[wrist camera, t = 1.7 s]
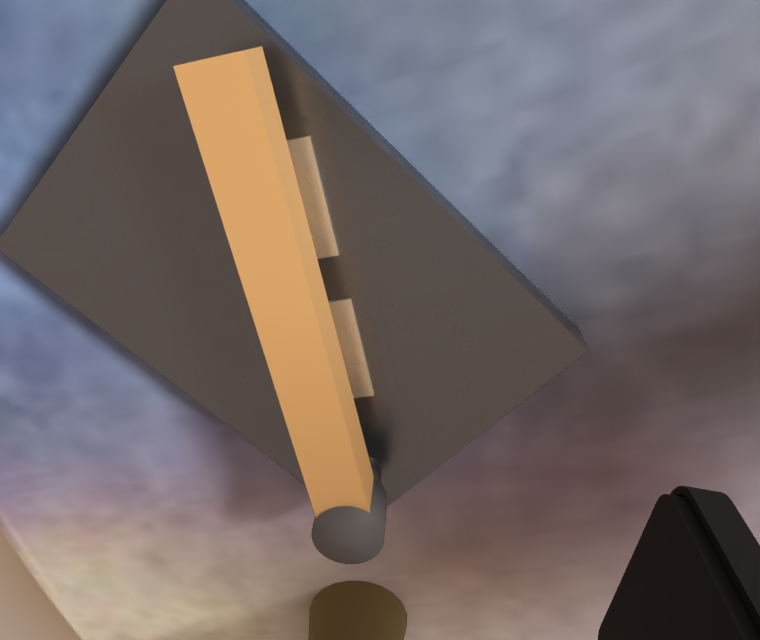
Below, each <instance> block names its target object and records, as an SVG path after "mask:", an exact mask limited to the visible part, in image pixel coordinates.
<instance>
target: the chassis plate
mask: <svg viewBox="0 0 760 640" xmlns="http://www.w3.org/2000/svg"><path fill="white" fill-rule="evenodd" d="M260 46H262V48H263V52H264V56H265V59H266V63H267V67H268V71H269V75H270V79H271V83H272V86H273V90H274V94H275V98H276V102H277V106H278V109H279V113H280V117H281V121H282V125H283V129H284V133H285V136H286V140H287V144H288V148H289V152H290V156H291V160H292V163H293V167H294V171H295V175H296V179H297V183H298V187H299V190H300V194H301V198H302V202H303V206H304V210H305V214H306V217H307V221H308V225H309V229H310V233H311V237H312V241H313V244H314V248H315V252H316V256H317V260H318V264H319V268H320V271H321V275H322V279H323V283H324V287H325V291H326V294H327V298H328V302H329V306H330V310H331V314H332V318H333V321H334V325H335V329H336V333H337V337H338V341H339V345H340V348H341V352H342V356H343V360H344V364H345V368H346V372H347V375H348V379H349V383H350V387H351V391H352V395H353V399H354V402H355V406H356V410H357V414H358V418H359V422H360V426H361V429H362V433H363V437H364V441H365V445H366V449H367V453H368V456H369V460H370V464H371V468H372V472H373V476H374V477H375V478H376V479H377V480H379V481H380V483H381V484H382V485H383V486H384V488H385V490H386V493H387V506H388V505H389V504H390V503H392V502H393V501H394V500H396V499H397V498H398V497H400V496H401V495H402V494H403V493H405V492H406V491H407V490H409V489H410V488H411V487H413V486H414V485H415V484H416V483H418V482H419V481H420V480H422V479H423V478H424V477H426V476H427V475H428V474H429V473H431V472H432V471H433V470H435V469H436V468H437V467H438V466H440V465H441V464H442V463H444V462H445V461H446V460H448V459H449V458H450V457H451V456H453V455H454V454H455V453H457V452H458V451H459V450H461V449H462V448H463V447H464V446H466V445H467V444H468V443H470V442H471V441H472V440H474V439H475V438H476V437H477V436H479V435H480V434H481V433H483V432H484V431H485V430H486V429H488V428H489V427H490V426H492V425H493V424H494V423H496V422H497V421H498V420H499V419H501V418H502V417H503V416H505V415H506V414H507V413H509V412H510V411H511V410H512V409H514V408H515V407H516V406H518V405H519V404H520V403H521V402H523V401H524V400H525V399H527V398H528V397H529V396H531V395H532V394H533V393H534V392H536V391H537V390H538V389H540V388H541V387H542V386H544V385H545V384H546V383H547V382H549V381H550V380H551V379H553V378H554V377H555V376H557V375H558V374H559V373H560V372H562V371H563V370H564V369H566V368H567V367H568V366H569V365H571V364H572V363H573V362H575V361H576V360H577V359H579V358H580V357H581V356H582V355H584V354H585V353H586V352H588V351H589V350H588V347H587V345H586V343H585V341H584V339H583V337H582V335H581V332H580V330H579V329H578V328H577V327H576V326H575V325H574V324H573V323H572V322H571V321H570V320H568V319H567V318H566V317H565V316H564V315H563V314H562V313H561V312H560V311H559V310H558V309H557V308H556V307H555V306H554V305H553V304H552V303H551V302H550V301H549V300H548V299H547V298H546V297H545V296H544V295H543V294H542V293H541V292H540V291H539V290H538V289H537V288H536V287H535V286H534V285H533V284H532V283H531V282H530V281H529V280H528V279H527V278H526V277H525V276H524V275H523V274H522V273H521V272H520V271H519V270H518V269H517V268H516V267H515V266H514V265H513V264H512V263H511V262H510V261H509V260H508V259H507V258H506V257H504V256H503V255H502V254H501V253H500V252H499V251H498V250H497V249H496V248H495V247H494V246H493V245H492V244H491V243H490V242H489V241H488V240H487V239H486V238H485V237H484V236H483V235H482V234H481V233H480V232H479V231H478V230H477V229H476V228H475V227H474V226H473V225H472V224H471V223H470V222H469V221H468V220H467V219H466V218H465V217H464V216H463V215H462V214H461V213H460V212H459V211H458V210H457V209H456V208H455V207H454V206H453V205H452V204H451V203H450V202H449V201H448V200H447V199H446V198H445V197H444V196H443V195H441V194H440V193H439V192H438V191H437V190H436V189H435V188H434V187H433V186H432V185H431V184H430V183H429V182H428V181H427V180H426V179H425V178H424V177H423V176H422V175H421V174H420V173H419V172H418V171H417V170H416V169H415V168H414V167H413V166H412V165H411V164H410V163H409V162H408V161H407V160H406V159H405V158H404V157H403V156H402V155H401V154H400V153H399V152H398V151H397V150H396V149H395V148H394V147H393V146H392V145H391V144H390V143H389V142H388V141H387V140H386V139H385V138H384V137H383V136H382V135H381V134H380V133H379V132H377V131H376V130H375V129H374V128H373V127H372V126H371V125H370V124H369V123H368V122H367V121H366V120H365V119H364V118H363V117H362V116H361V115H360V114H359V113H358V112H357V111H356V110H355V109H354V108H353V107H352V106H351V105H350V104H349V103H348V102H347V101H346V100H345V99H344V98H343V97H342V96H341V95H340V94H339V93H338V92H337V91H336V90H335V89H334V88H333V87H332V86H331V85H330V84H329V83H328V82H327V81H326V80H325V79H324V78H323V77H322V76H321V75H320V74H319V73H318V72H317V71H316V70H315V69H313V68H312V67H311V66H310V65H309V64H308V63H307V62H306V61H305V60H304V59H303V58H302V57H301V56H300V55H299V54H298V53H297V52H296V51H295V50H294V49H293V48H292V47H291V46H290V45H289V44H288V43H287V42H286V41H285V40H284V39H283V38H282V37H281V36H280V35H279V34H278V33H277V32H276V31H275V30H274V29H273V28H272V27H271V26H270V25H269V24H268V23H267V22H266V21H265V20H264V19H263V18H262V17H261V16H260V15H259V14H258V13H257V12H256V11H255V10H254V9H253V8H252V7H251V6H249V5H248V4H247V3H246V2H245V1H244V0H166V1H165V3H164V4H163V5H162V7H161V8H160V10H159V11H158V13H157V14H156V15H155V17H154V18H153V20H152V21H151V23H150V24H149V25H148V27H147V28H146V30H145V31H144V33H143V34H142V35H141V37H140V38H139V40H138V41H137V43H136V44H135V45H134V47H133V48H132V50H131V51H130V53H129V54H128V56H127V57H126V58H125V60H124V61H123V63H122V64H121V66H120V67H119V68H118V70H117V71H116V73H115V74H114V76H113V77H112V78H111V80H110V81H109V83H108V84H107V86H106V87H105V88H104V90H103V91H102V93H101V94H100V96H99V97H98V98H97V100H96V101H95V103H94V104H93V106H92V107H91V108H90V110H89V111H88V113H87V114H86V116H85V117H84V118H83V120H82V121H81V123H80V124H79V126H78V127H77V128H76V130H75V131H74V133H73V134H72V136H71V137H70V138H69V140H68V141H67V143H66V144H65V146H64V147H63V148H62V150H61V151H60V153H59V154H58V156H57V157H56V158H55V160H54V161H53V163H52V164H51V166H50V167H49V169H48V170H47V171H46V173H45V174H44V176H43V177H42V179H41V180H40V181H39V183H38V184H37V186H36V187H35V189H34V190H33V191H32V193H31V194H30V196H29V197H28V199H27V200H26V201H25V203H24V204H23V206H22V207H21V209H20V210H19V211H18V213H17V214H16V216H15V217H14V219H13V220H12V221H11V223H10V224H9V226H8V227H7V229H6V230H5V231H4V233H3V234H2V236H1V237H0V252H2V253H3V254H4V255H6V256H7V257H8V258H9V259H11V260H12V261H13V262H15V263H16V264H17V265H19V266H20V267H21V268H23V269H24V270H25V271H27V272H28V273H29V274H30V275H32V276H33V277H34V278H36V279H37V280H38V281H40V282H41V283H42V284H44V285H45V286H46V287H47V288H49V289H50V290H51V291H53V292H54V293H55V294H57V295H58V296H59V297H61V298H62V299H63V300H64V301H66V302H67V303H68V304H70V305H71V306H72V307H74V308H75V309H76V310H78V311H79V312H80V313H81V314H83V315H84V316H85V317H87V318H88V319H89V320H91V321H92V322H93V323H95V324H96V325H97V326H98V327H100V328H101V329H102V330H104V331H105V332H106V333H108V334H109V335H110V336H112V337H113V338H114V339H116V340H117V341H118V342H119V343H121V344H122V345H123V346H125V347H126V348H127V349H129V350H130V351H131V352H133V353H134V354H135V355H136V356H138V357H139V358H140V359H142V360H143V361H144V362H146V363H147V364H148V365H150V366H151V367H152V368H153V369H155V370H156V371H157V372H159V373H160V374H161V375H163V376H164V377H165V378H167V379H168V380H169V381H170V382H172V383H173V384H174V385H176V386H177V387H178V388H180V389H181V390H182V391H184V392H185V393H186V394H187V395H189V396H190V397H191V398H193V399H194V400H195V401H197V402H198V403H199V404H201V405H202V406H203V407H204V408H206V409H207V410H208V411H210V412H211V413H212V414H214V415H215V416H216V417H218V418H219V419H220V420H222V421H223V422H224V423H225V424H227V425H228V426H229V427H231V428H232V429H233V430H235V431H236V432H237V433H239V434H240V435H241V436H242V437H244V438H245V439H246V440H248V441H249V442H250V443H252V444H253V445H254V446H256V447H257V448H258V449H259V450H261V451H262V452H263V453H265V454H266V455H267V456H269V457H270V458H271V459H273V460H274V461H275V462H276V463H278V464H279V465H280V466H282V467H283V468H284V469H286V470H287V471H288V472H290V473H291V474H292V475H293V476H295V477H296V478H297V479H299V480H300V481H301V482H303V483H304V484H305V481H304V478H303V475H302V472H301V469H300V465H299V462H298V459H297V456H296V453H295V450H294V447H293V443H292V440H291V437H290V434H289V431H288V428H287V424H286V421H285V418H284V415H283V412H282V409H281V405H280V402H279V399H278V396H277V393H276V390H275V387H274V383H273V380H272V377H271V374H270V371H269V368H268V364H267V361H266V358H265V355H264V352H263V349H262V345H261V342H260V339H259V336H258V333H257V330H256V327H255V323H254V320H253V317H252V314H251V311H250V308H249V304H248V301H247V298H246V295H245V292H244V289H243V285H242V282H241V279H240V276H239V273H238V270H237V267H236V263H235V260H234V257H233V254H232V251H231V248H230V244H229V241H228V238H227V235H226V232H225V229H224V225H223V222H222V219H221V216H220V213H219V210H218V207H217V203H216V200H215V197H214V194H213V191H212V188H211V184H210V181H209V178H208V175H207V172H206V169H205V165H204V162H203V159H202V156H201V153H200V150H199V147H198V143H197V140H196V137H195V134H194V131H193V128H192V124H191V121H190V118H189V115H188V112H187V109H186V105H185V102H184V99H183V96H182V93H181V90H180V87H179V83H178V80H177V77H176V74H175V71H174V68H173V66H176V65H180V64H185V63H189V62H194V61H198V60H203V59H207V58H211V57H216V56H220V55H225V54H229V53H234V52H238V51H242V50H247V49H251V48H256V47H260ZM305 485H306V484H305Z"/></svg>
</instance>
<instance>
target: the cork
mask: <svg viewBox="0 0 760 640" xmlns="http://www.w3.org/2000/svg"><path fill="white" fill-rule="evenodd" d="M406 625H407V613H406V611H405V608H404V606H403V604H402V602H401V601H400V600H399V599H398V598H397V597H396V596H395V595H394V594H393V593H391V592H390V591H388V590H386V589H384V588H383V587H381V586H378V585H375V584H371V583H368V582H359V581H347V582H341V583H336V584H333V585H331V586H329V587H327V588H325V589H323V590H322V591H321V592H320V593H319V594H318V595H317V596H316V597H315V598H314V600H313V602H312V604H311V607H310V618H309V640H404V636H405V630H406Z"/></svg>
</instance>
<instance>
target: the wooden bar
mask: <svg viewBox="0 0 760 640" xmlns="http://www.w3.org/2000/svg"><path fill="white" fill-rule="evenodd" d="M173 68H174V71H175V74H176V77H177V80H178V83H179V87H180V90H181V93H182V96H183V99H184V102H185V105H186V109H187V112H188V115H189V118H190V121H191V124H192V128H193V131H194V134H195V137H196V140H197V143H198V147H199V150H200V153H201V156H202V159H203V162H204V165H205V169H206V172H207V175H208V178H209V181H210V184H211V188H212V191H213V194H214V197H215V200H216V203H217V207H218V210H219V213H220V216H221V219H222V222H223V225H224V229H225V232H226V235H227V238H228V241H229V244H230V248H231V251H232V254H233V257H234V260H235V263H236V267H237V270H238V273H239V276H240V279H241V282H242V285H243V289H244V292H245V295H246V298H247V301H248V304H249V308H250V311H251V314H252V317H253V320H254V323H255V327H256V330H257V333H258V336H259V339H260V342H261V345H262V349H263V352H264V355H265V358H266V361H267V364H268V368H269V371H270V374H271V377H272V380H273V383H274V387H275V390H276V393H277V396H278V399H279V402H280V405H281V409H282V412H283V415H284V418H285V421H286V424H287V428H288V431H289V434H290V437H291V440H292V443H293V447H294V450H295V453H296V456H297V459H298V462H299V465H300V469H301V472H302V475H303V478H304V481H305V484H306V488H307V491H308V494H309V497H310V500H311V503H312V507H313V510H314V513H315V519H314V524H313V528H312V540H313V543H314V545H315V547H316V548H317V549H318V551H319V552H320V553H321V554H323V555H324V556H325V557H327V558H329V559H331V560H333V561H335V562H339V563H344V564H358V563H363V562H366V561H368V560H370V559H372V558H373V557H375V556H376V555H377V554H378V553H379V552H380V550H381V548H382V546H383V542H384V532H385V520H386V509H387V493H386V490H385V488H384V486H383V485H382V484H381V483H380V481H379V480H377V479H376V478H375V477H374V476H373V472H372V468H371V464H370V460H369V456H368V453H367V449H366V445H365V441H364V437H363V433H362V429H361V426H360V422H359V418H358V414H357V410H356V406H355V402H354V399H353V395H352V391H351V387H350V383H349V379H348V375H347V372H346V368H345V364H344V360H343V356H342V352H341V348H340V345H339V341H338V337H337V333H336V329H335V325H334V321H333V318H332V314H331V310H330V306H329V302H328V298H327V294H326V291H325V287H324V283H323V279H322V275H321V271H320V268H319V264H318V260H317V256H316V252H315V248H314V244H313V241H312V237H311V233H310V229H309V225H308V221H307V217H306V214H305V210H304V206H303V202H302V198H301V194H300V190H299V187H298V183H297V179H296V175H295V171H294V167H293V163H292V160H291V156H290V152H289V148H288V144H287V140H286V136H285V133H284V129H283V125H282V121H281V117H280V113H279V109H278V106H277V102H276V98H275V94H274V90H273V86H272V83H271V79H270V75H269V71H268V67H267V63H266V59H265V56H264V52H263V48H262V46H260V47H256V48H251V49H247V50H242V51H238V52H234V53H229V54H225V55H220V56H216V57H211V58H207V59H203V60H198V61H194V62H189V63H185V64H180V65H176V66H173Z"/></svg>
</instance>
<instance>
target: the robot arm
mask: <svg viewBox="0 0 760 640" xmlns="http://www.w3.org/2000/svg"><path fill="white" fill-rule="evenodd" d="M598 640H760V545H759V544H758V542H757V540H756V539H755V537H754V536H753V534H752V532H751V531H750V529H749V528H748V526H747V524H746V523H745V521H744V520H743V518H742V517H741V515H740V513H739V512H738V510H737V509H736V507H735V505H734V504H733V502H732V501H731V499H730V498H729V497H728V496H727V495H726V494H724V493H721V492H716V491H710V490H704V489H698V488H692V487H686V486H678V487H676V488H675V489H674V490H673V491H672V493H671V494H670V495H668V494H664V495H662V496H660V497H659V499H658V501H657V502H656V504H655V507H654V509H653V511H652V513H651V515H650V518H649V520H648V522H647V524H646V527H645V529H644V531H643V533H642V535H641V538H640V540H639V542H638V544H637V546H636V549H635V551H634V553H633V555H632V557H631V560H630V562H629V564H628V566H627V569H626V571H625V573H624V575H623V577H622V580H621V582H620V584H619V586H618V588H617V591H616V593H615V595H614V597H613V600H612V602H611V604H610V606H609V608H608V611H607V613H606V615H605V617H604V619H603V622H602V624H601V626H600V629H599V634H598Z"/></svg>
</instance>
